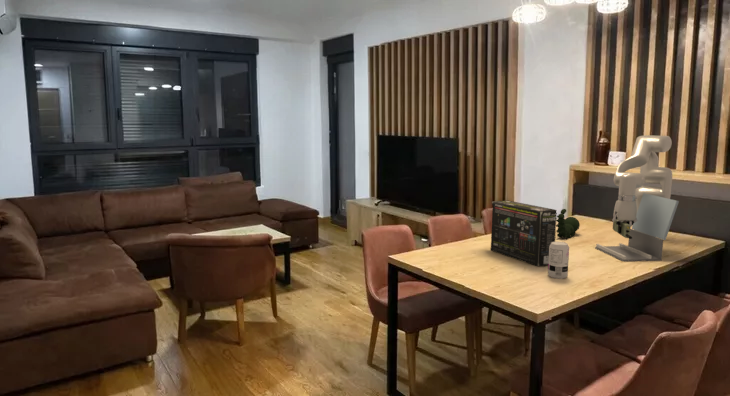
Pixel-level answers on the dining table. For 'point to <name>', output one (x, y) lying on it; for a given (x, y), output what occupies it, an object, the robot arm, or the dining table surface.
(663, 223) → the cover
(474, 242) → the dining table surface
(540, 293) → the dining table surface
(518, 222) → the router box
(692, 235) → the dining table surface
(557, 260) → the supplement can
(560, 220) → the toy figurine
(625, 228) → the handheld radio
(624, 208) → the robot arm
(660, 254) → the grey sloped stand
